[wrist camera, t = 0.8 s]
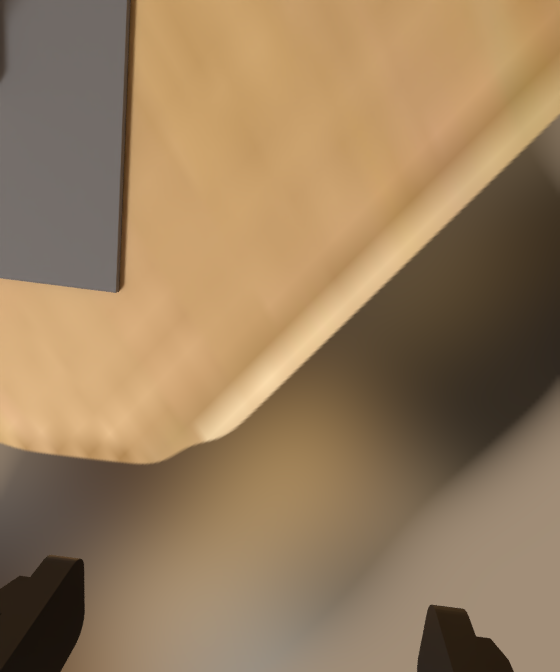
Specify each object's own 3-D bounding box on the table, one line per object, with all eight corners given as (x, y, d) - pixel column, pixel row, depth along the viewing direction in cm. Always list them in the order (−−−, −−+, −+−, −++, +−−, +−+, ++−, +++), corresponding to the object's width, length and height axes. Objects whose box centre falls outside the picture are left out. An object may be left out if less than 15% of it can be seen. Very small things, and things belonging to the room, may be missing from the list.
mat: (-111, -44, 33) (-119, -48, 32) (131, -19, 32) (127, -24, 32) (-93, 264, 37) (-99, 265, 37) (118, 291, 37) (115, 292, 36)
